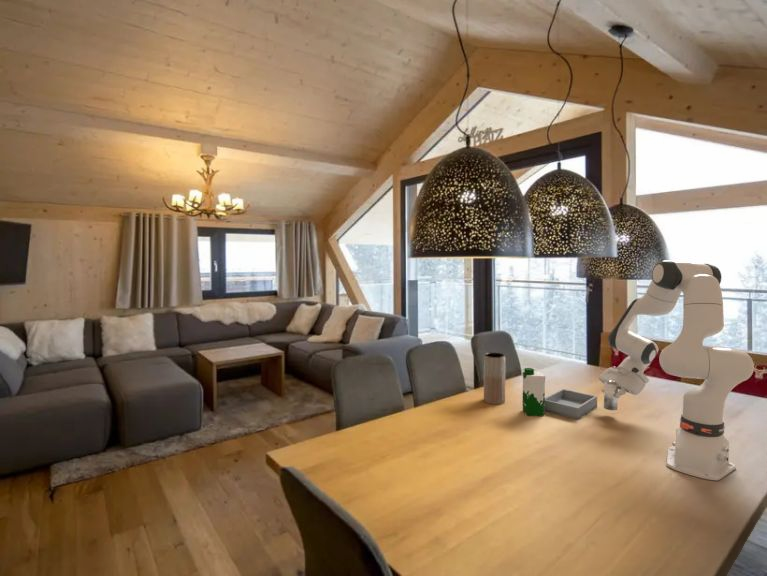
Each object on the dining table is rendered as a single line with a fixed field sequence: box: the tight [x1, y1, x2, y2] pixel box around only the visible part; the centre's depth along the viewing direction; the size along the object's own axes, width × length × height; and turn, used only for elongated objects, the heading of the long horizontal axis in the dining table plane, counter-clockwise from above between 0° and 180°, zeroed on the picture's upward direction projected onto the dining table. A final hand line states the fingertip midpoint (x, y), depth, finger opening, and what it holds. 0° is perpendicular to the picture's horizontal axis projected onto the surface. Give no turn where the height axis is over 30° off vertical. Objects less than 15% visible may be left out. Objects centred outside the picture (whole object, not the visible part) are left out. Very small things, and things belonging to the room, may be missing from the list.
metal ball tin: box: [603, 380, 619, 411], centre depth 188 cm, size 5×5×12 cm
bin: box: [544, 388, 598, 420], centre depth 197 cm, size 22×16×5 cm
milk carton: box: [522, 367, 546, 417], centre depth 191 cm, size 9×9×20 cm
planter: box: [483, 352, 507, 405], centre depth 208 cm, size 10×10×23 cm
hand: (609, 394), depth 187 cm, fingers closed on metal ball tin, 5 cm apart
